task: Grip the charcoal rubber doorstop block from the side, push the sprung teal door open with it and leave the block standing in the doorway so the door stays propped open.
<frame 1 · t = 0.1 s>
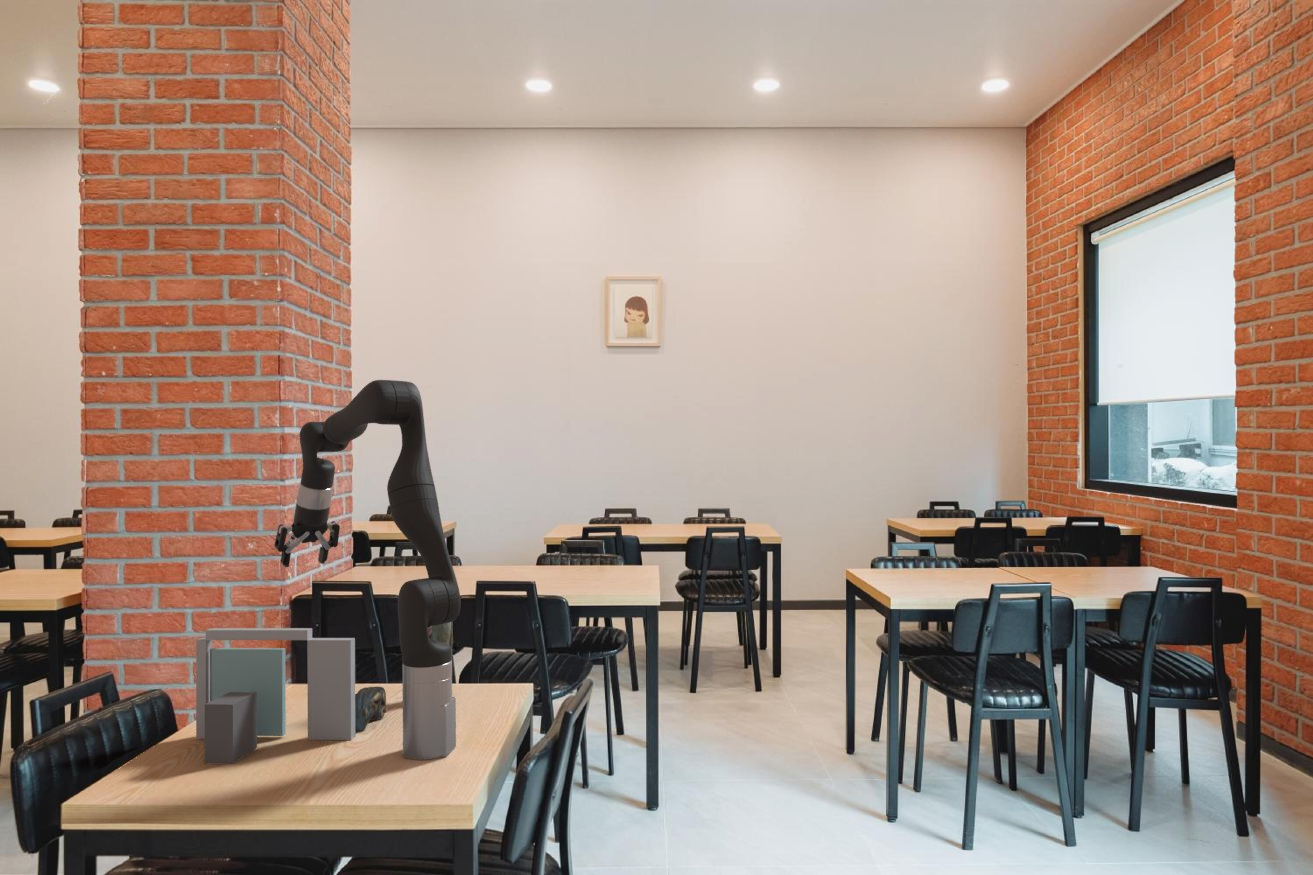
hand: (303, 563, 195), 31 cm above the table, tool tilted 20°, fingers open, 8 cm apart
door: (248, 690, 166), point 9 cm above the table, hinge at 0.0°
wall frame: (276, 737, 164), on the table
figurine: (438, 698, 191), on the table
doorstop block: (231, 755, 155), on the table
sculpture: (364, 723, 173), on the table
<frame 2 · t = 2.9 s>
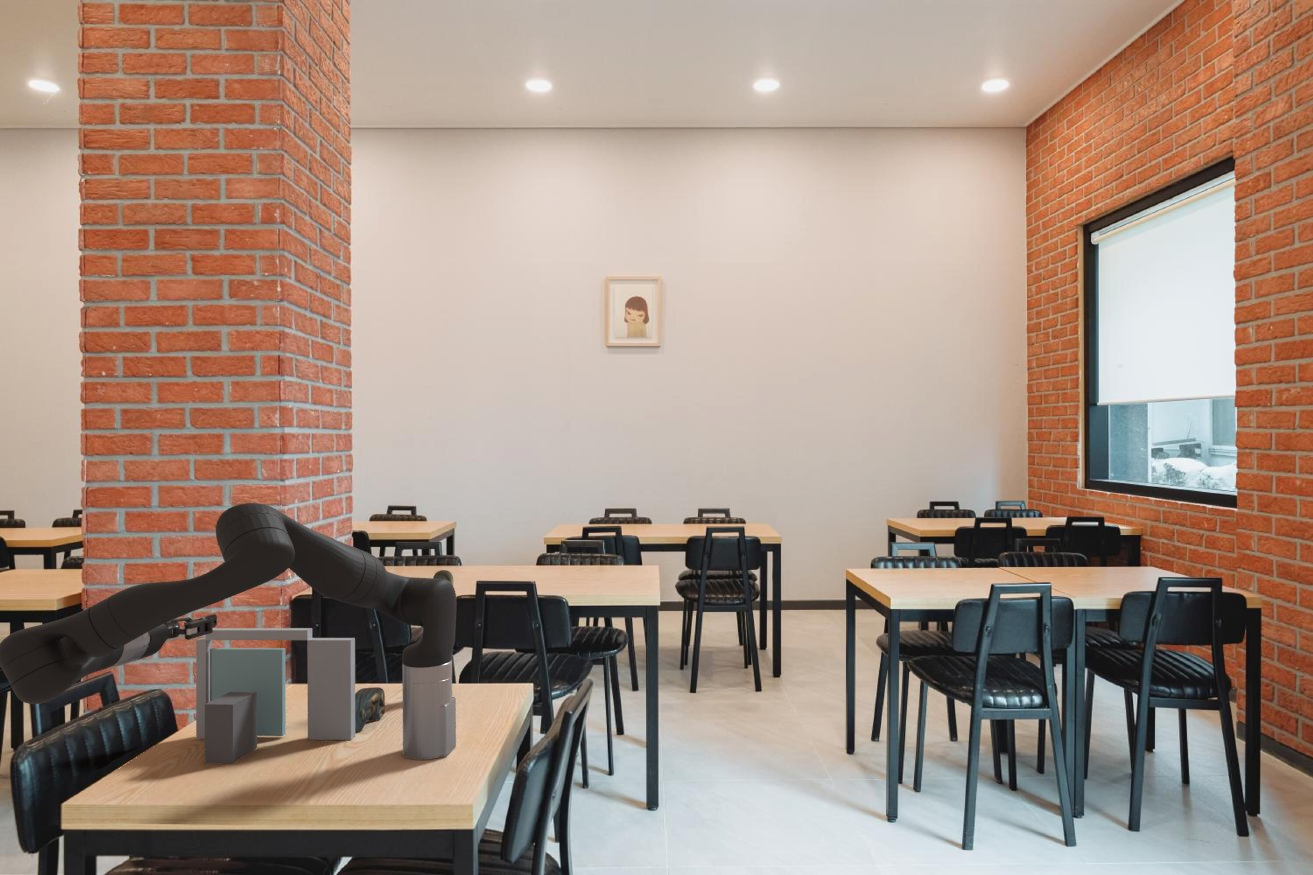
hand: (192, 619, 144), 28 cm above the table, tool horizontal, fingers open, 8 cm apart
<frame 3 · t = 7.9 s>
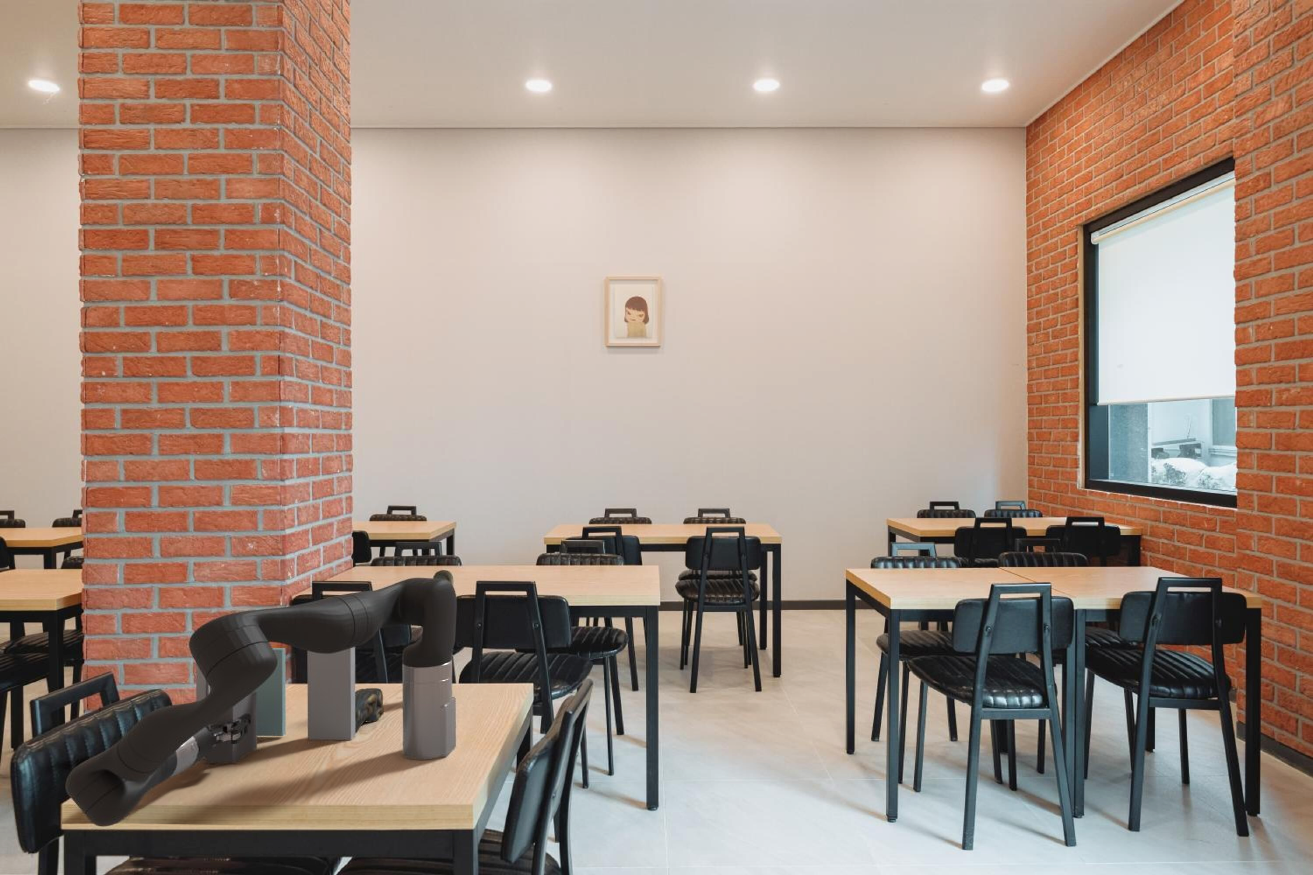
hand: (233, 718, 155), 7 cm above the table, tool horizontal, fingers closed on doorstop block, 5 cm apart
doorstop block: (231, 755, 155), on the table, touching gripper
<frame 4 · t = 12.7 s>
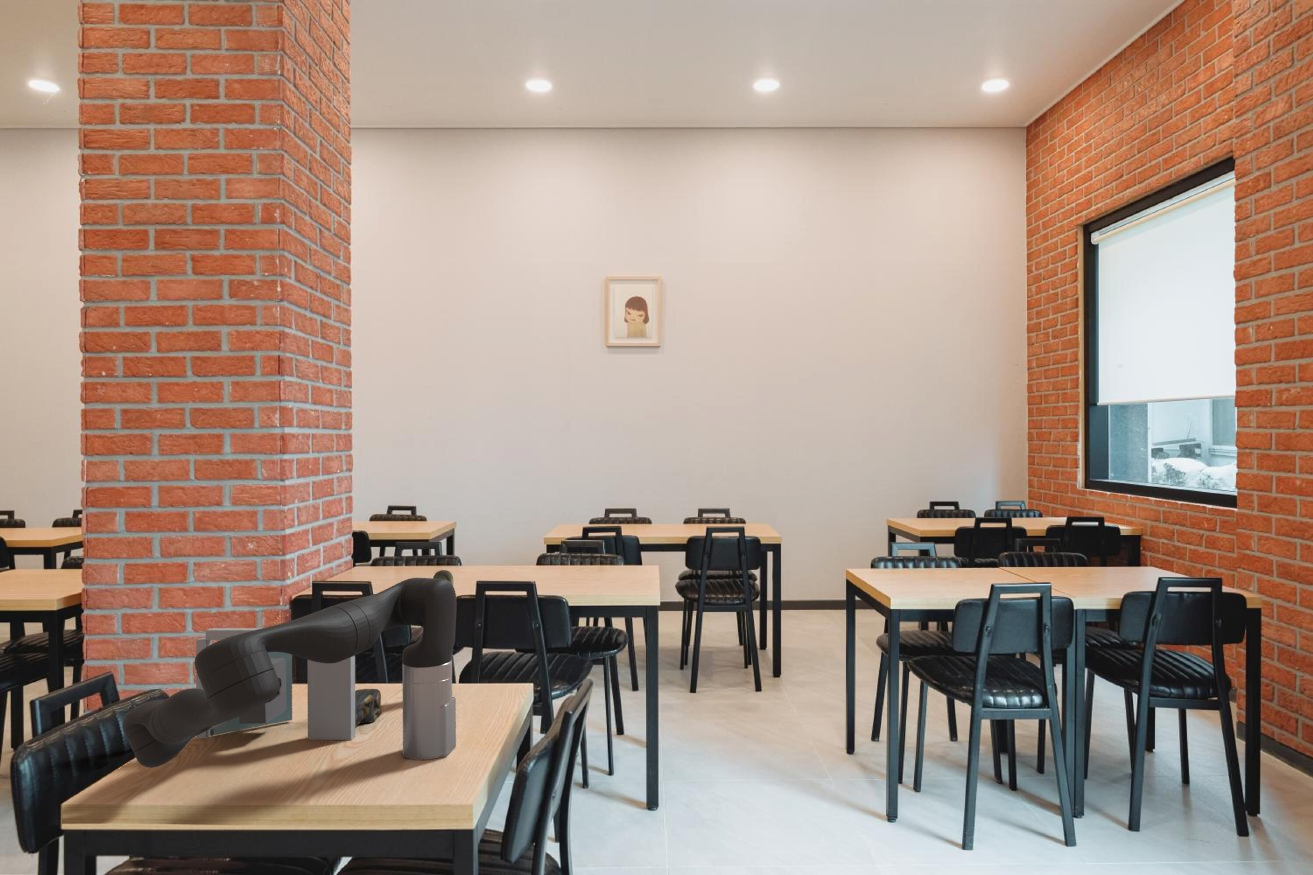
hand: (264, 682, 167), 11 cm above the table, tool horizontal, fingers closed on doorstop block, 5 cm apart
door: (251, 684, 170), point 9 cm above the table, hinge at 41.1°, touching doorstop block
doorstop block: (263, 716, 166), point 4 cm above the table, touching door, gripper
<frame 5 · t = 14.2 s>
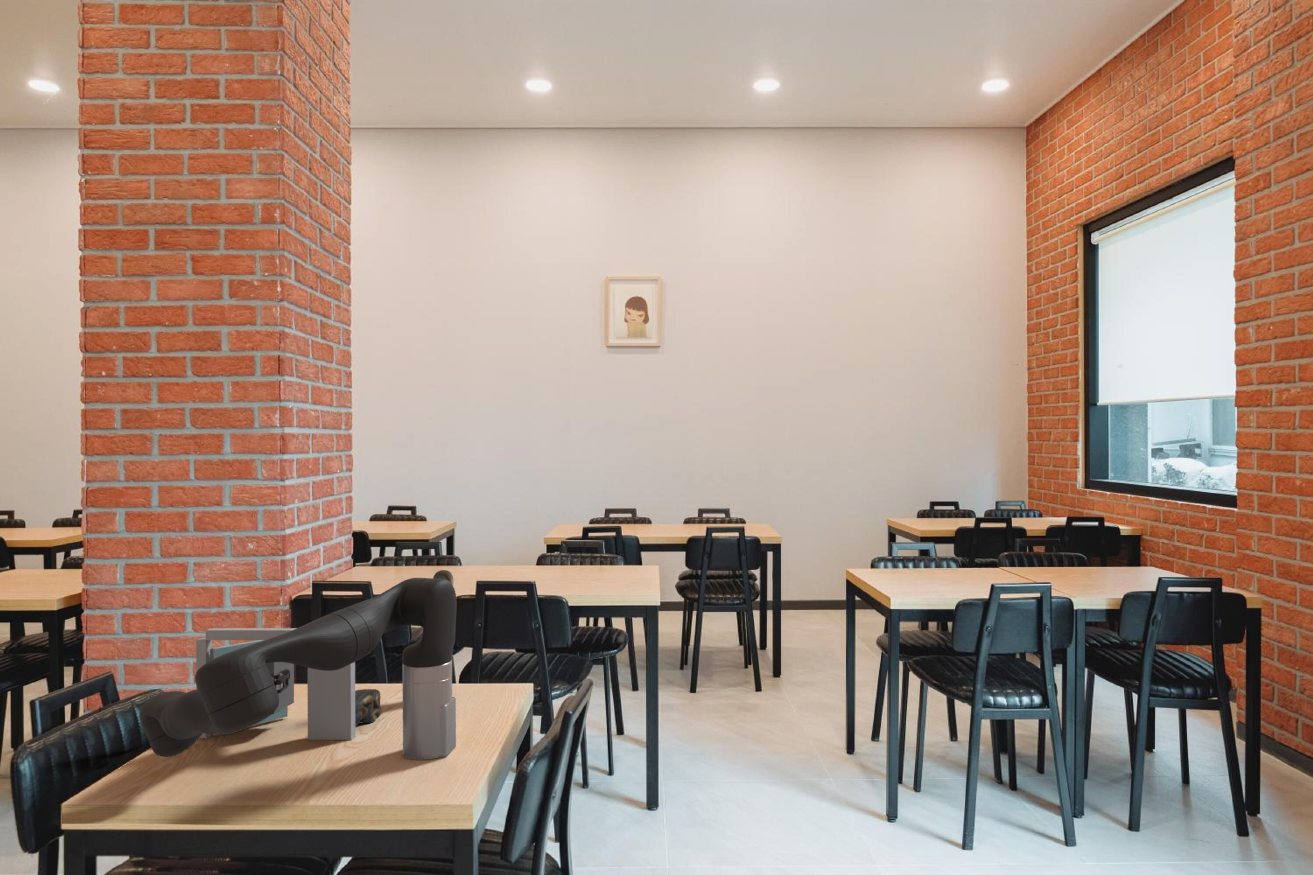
hand: (273, 673, 170), 11 cm above the table, tool horizontal, fingers closed on doorstop block, 5 cm apart
door: (248, 683, 171), point 9 cm above the table, hinge at 53.1°, touching doorstop block
doorstop block: (271, 708, 169), point 5 cm above the table, touching door, gripper
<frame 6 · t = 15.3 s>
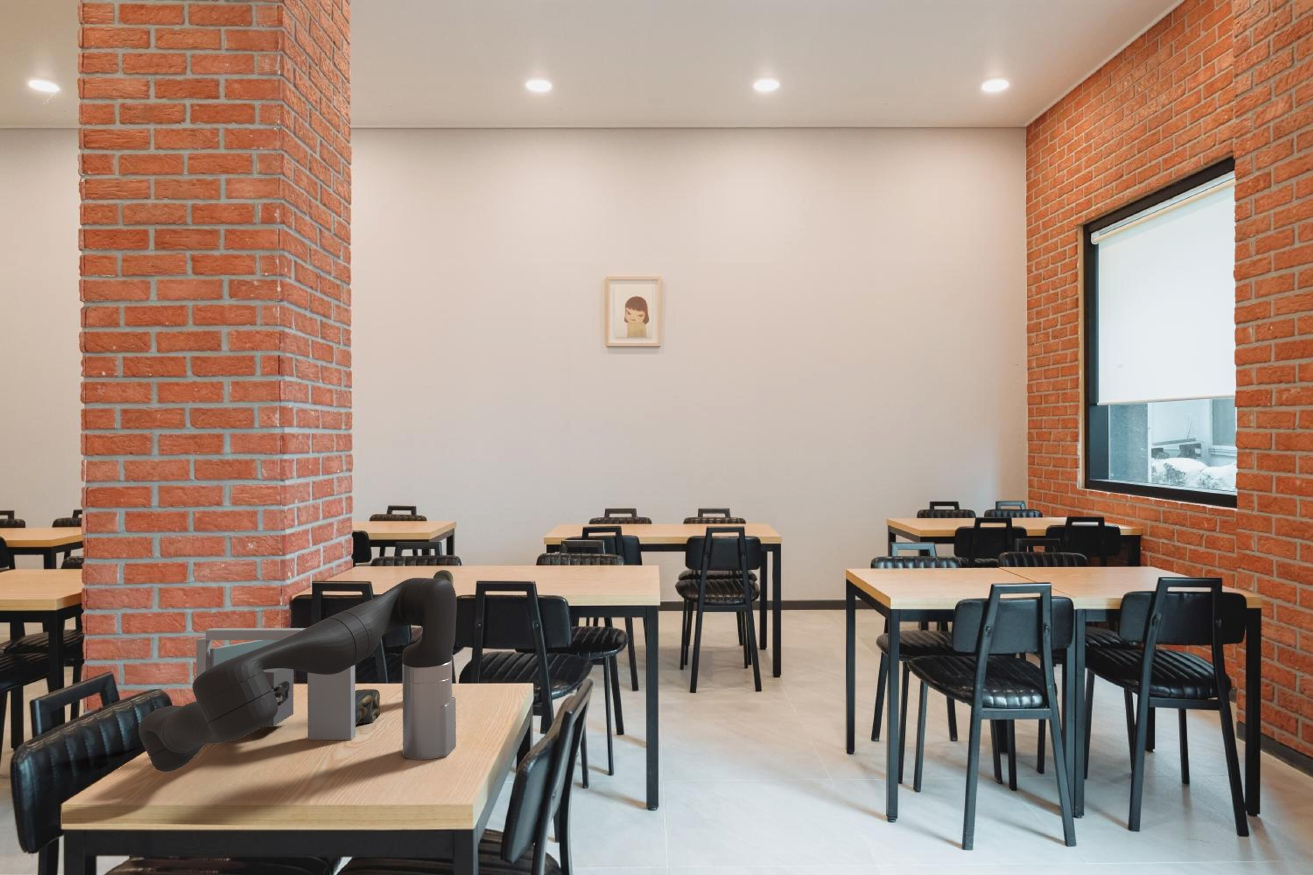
hand: (273, 685, 170), 9 cm above the table, tool horizontal, fingers closed on doorstop block, 5 cm apart
door: (248, 683, 171), point 9 cm above the table, hinge at 54.1°
doorstop block: (271, 719, 169), point 2 cm above the table, touching gripper
when the fingers open (7 cm above the table, at t = 16.3 s): doorstop block stays where it is, on the table.
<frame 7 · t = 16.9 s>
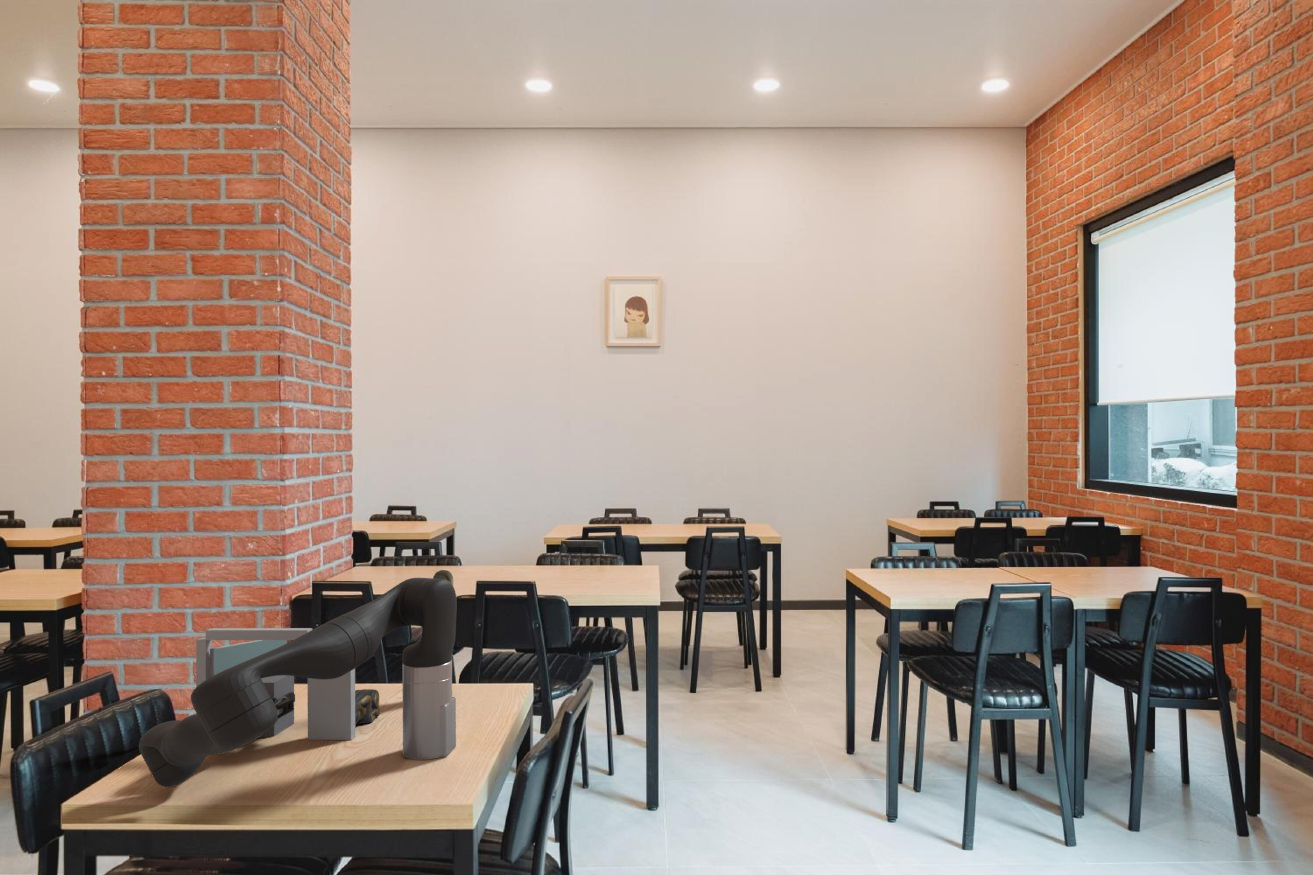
hand: (273, 696, 170), 7 cm above the table, tool horizontal, fingers open, 8 cm apart
doorstop block: (271, 729, 169), on the table
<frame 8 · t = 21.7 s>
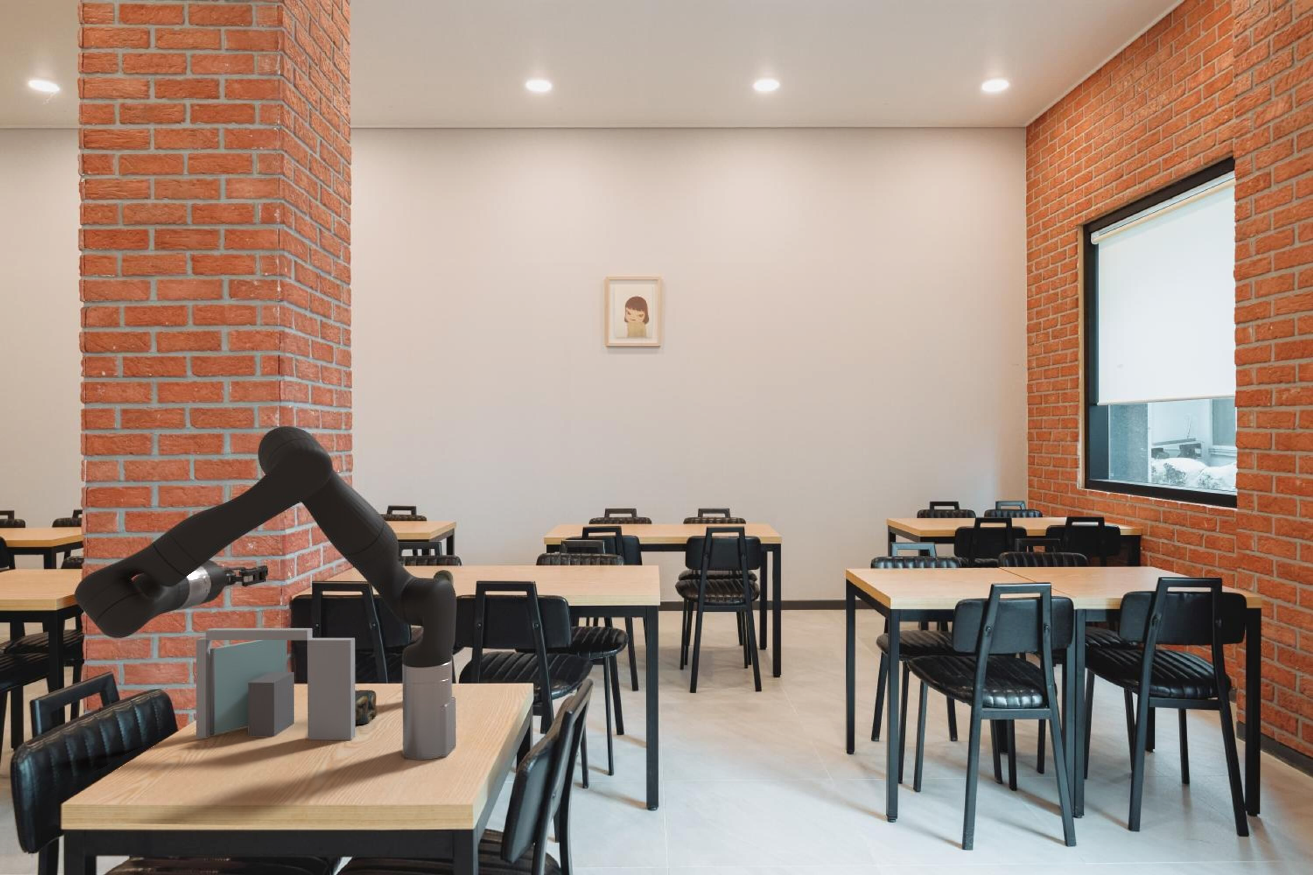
hand: (243, 570, 150), 36 cm above the table, tool horizontal, fingers open, 8 cm apart
at the end: door at +54° (first picture: +0°); doorstop block inside the target area (1.3 cm from its centre), on the table; doorstop block tilted 0° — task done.
